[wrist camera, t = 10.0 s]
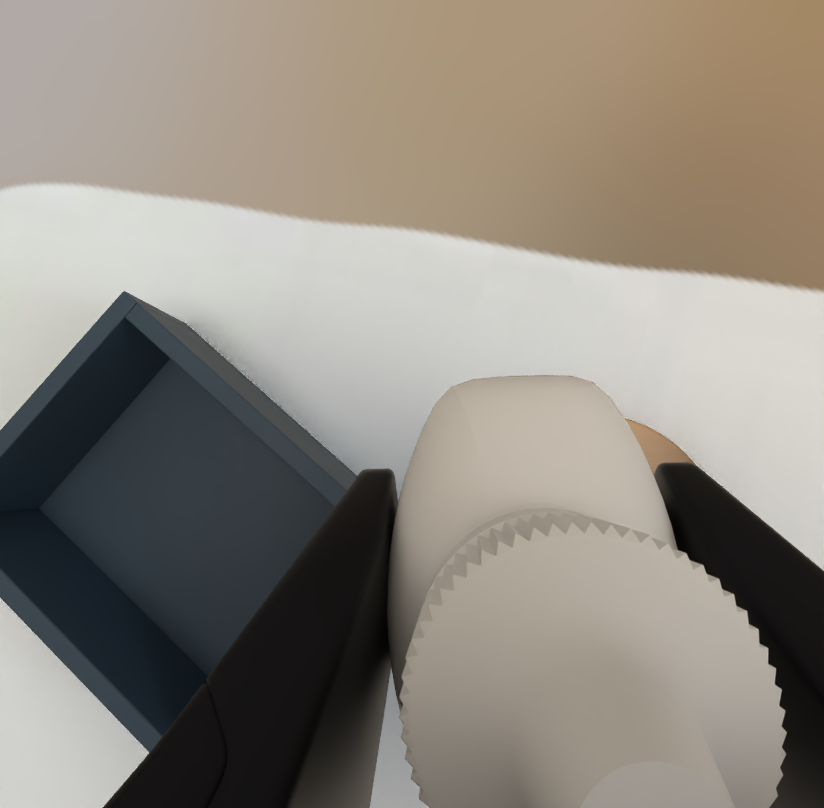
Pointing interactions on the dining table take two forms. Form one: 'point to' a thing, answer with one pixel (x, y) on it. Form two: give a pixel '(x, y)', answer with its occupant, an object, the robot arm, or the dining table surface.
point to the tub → (152, 510)
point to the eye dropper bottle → (565, 619)
